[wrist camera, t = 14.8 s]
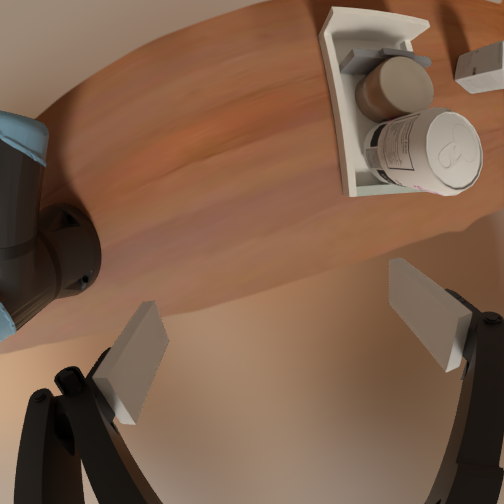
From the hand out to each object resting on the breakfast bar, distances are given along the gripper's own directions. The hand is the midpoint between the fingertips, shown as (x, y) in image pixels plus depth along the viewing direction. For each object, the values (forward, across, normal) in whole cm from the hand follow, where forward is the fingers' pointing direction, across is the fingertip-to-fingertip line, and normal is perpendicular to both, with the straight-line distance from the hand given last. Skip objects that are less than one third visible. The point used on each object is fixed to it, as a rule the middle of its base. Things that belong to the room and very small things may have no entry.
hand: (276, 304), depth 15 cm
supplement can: (+22, +18, +6) cm, 29 cm away
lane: (+24, +18, +13) cm, 33 cm away
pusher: (+22, +19, +18) cm, 34 cm away
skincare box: (+23, +38, +19) cm, 48 cm away
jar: (+22, +18, +14) cm, 32 cm away
